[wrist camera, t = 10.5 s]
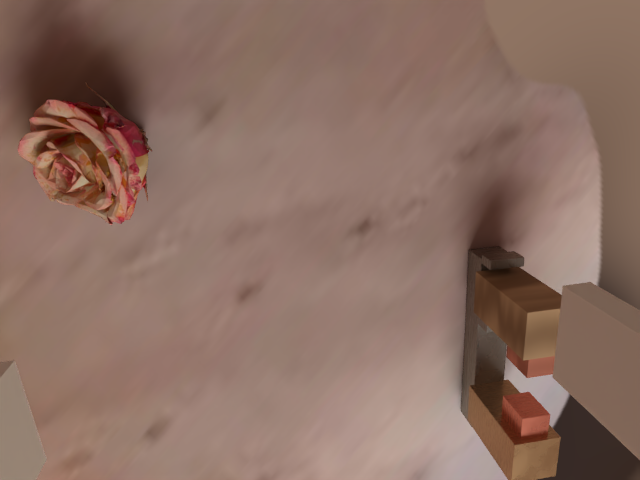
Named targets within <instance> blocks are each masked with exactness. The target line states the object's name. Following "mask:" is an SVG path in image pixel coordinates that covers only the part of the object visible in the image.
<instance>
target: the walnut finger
mask: <svg viewBox="0 0 640 480" xmlns="http://www.w3.org/2000/svg"><path fill="white" fill-rule="evenodd" d="M561 298H562V295H561V294H559V293H558V292H556V291H554V290H553V289H551V288H550V287H548V286H547V285H545V284H544V283H542V282H541V281H539V280H538V279H536V278H535V277H533V276H532V275H530V274H529V273H527V272H526V271H524V270H522V269H521V268H519V267H513V268H504V269H496V270H485V271H477V272H476V279H475V297H474V313H475V314H476V315H477V316H478V317H479V318H480V319H481V320H482V321H483V322H484V323H485V324H486V325H487V326H488V327H489V328H490V329H491V330H492V331H493V332H494V333H495V334H496V335H497V336H498V337H499V338H501V339H502V340H503V341H504V342H505V343H506V344H507V358H508V359H509V360H510V361H511V362H512V363H513V364H514V365H515V366H516V367H517V368H518V369H519V370H520V371H521V372H522V373H523V374H524V375H525V376H526V377H527V378H530V377H536V376H543V375H549V374H553V370H554V361H555V352H556V343H557V334H558V325H559V316H560V307H561Z"/></svg>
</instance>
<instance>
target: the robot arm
mask: <svg viewBox="0 0 640 480" xmlns="http://www.w3.org/2000/svg"><path fill="white" fill-rule="evenodd" d="M553 378H554V379H555V380H556V381H557V382H558V383H559V384H560V385H561V386H562V387H563V388H564V389H565V390H566V391H568V392H569V393H570V394H571V395H572V396H573V397H574V398H575V399H576V400H577V401H578V402H579V403H580V404H581V405H582V406H583V407H584V408H585V409H587V410H588V411H589V412H590V413H591V414H592V415H593V416H594V417H595V418H596V419H597V420H598V421H599V422H600V423H601V424H603V426H604V427H606V428H607V429H608V430H609V431H610V432H611V433H612V434H613V435H614V436H615V437H616V438H617V439H618V440H619V441H620V442H621V443H622V444H623V445H625V446H626V447H627V448H628V449H629V450H630V451H631V452H632V453H633V454H634V455H635V456H636V457H637V458H638V459H639V460H640V310H638V309H636V308H634V307H633V306H631V305H629V304H627V303H626V302H624V301H622V300H620V299H619V298H617V297H615V296H613V295H612V294H610V293H608V292H606V291H605V290H603V289H601V288H600V287H598V286H596V285H594V284H593V283H591V282H588V283H581V284H573V285H566V286H563V290H562V298H561V307H560V316H559V325H558V334H557V343H556V352H555V361H554V370H553ZM46 460H47V459H46V456H45V452H44V449H43V446H42V443H41V440H40V437H39V434H38V431H37V428H36V425H35V421H34V418H33V415H32V412H31V409H30V406H29V403H28V400H27V397H26V394H25V391H24V387H23V384H22V381H21V378H20V375H19V372H18V369H17V366H16V363H15V360H13V361H6V362H0V480H36V479H37V477H38V475H39V473H40V471H41V469H42V467H43V465H44V463H45V462H46Z"/></svg>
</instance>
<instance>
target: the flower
mask: <svg viewBox="0 0 640 480" xmlns="http://www.w3.org/2000/svg"><path fill="white" fill-rule="evenodd" d="M85 82H86V81H85ZM86 85H87V83H86ZM87 87H88V88H89V89H91V88H90V87H89V86H88V85H87ZM91 90H92V89H91ZM92 91H93V92H95V91H94V90H92ZM95 93H96V92H95ZM96 94H97V95H98V96H99V97H100V98H101V99H102V100H103V101H104V103H105V104H106V108H104V107H98V106H90V105H89V104H88V103H85V102H77V103H72V102H69V101H65V100H63V101H60V100H57V99H56V100H48V99H47V100H46V102H45V104H43V105H42V106H40V107H39V108H38V109H37V110H36V111H35V113H34V117H31V118H29V119H30V125H31V129H30V130H31V132H30V133H27V134H26V135H25V136H24V137H23V138H22V139H21V140H20V143H19V147H18V152H19V155H20V156H21V157H22V158H24V159H26V160H27V161H29V162H30V163H32V164H33V165H34V169H33V172H34V176H35V178H36V179H37V180H38V182H39V184H40V185H41V187H42V189H43V190H44V192H45V193H46V195H47V196H48V197H49V199H50V201H55V200H57V202H59V203H61V204H67V205H75V206H76V207H78V208H81V209H84V210H86V211H88V212H90V213H93V214H95V215H97V216H99V217H101V218H102V219H104V220H105V221H106V222H108V223H109V224H110V225H112V222H117V223H120V224H121V223H122V222H124V220H130V218H131V216H132V213H133V211H134V208H135V203H136V199H137V195H138V193H139V191H140V190H141V188H142V187H144V189H145V192H146V197H147V201H148V195H147V180H146V171H147V167H148V154H147V153H148V152H149V150H150V151H152V150H151V149H150V147H149V146H148V144H147V141H148V139H147V138H146V137H145V135H146V132H144V131H143V129H141V130H139V128H138V127H137V126H136V125H135V123H134V122H132V121H130V120H128V119H126V118H124V117H123V116H121V115H120V114H119V113H118V112H117V111H116V110H115V109H114V107H113V106H112V105H111V104H110V103H109V102H108V101H106V100H105V99H104V98H103V97H101V96H100V95H99V94H98V93H96ZM147 149H148V150H147Z"/></svg>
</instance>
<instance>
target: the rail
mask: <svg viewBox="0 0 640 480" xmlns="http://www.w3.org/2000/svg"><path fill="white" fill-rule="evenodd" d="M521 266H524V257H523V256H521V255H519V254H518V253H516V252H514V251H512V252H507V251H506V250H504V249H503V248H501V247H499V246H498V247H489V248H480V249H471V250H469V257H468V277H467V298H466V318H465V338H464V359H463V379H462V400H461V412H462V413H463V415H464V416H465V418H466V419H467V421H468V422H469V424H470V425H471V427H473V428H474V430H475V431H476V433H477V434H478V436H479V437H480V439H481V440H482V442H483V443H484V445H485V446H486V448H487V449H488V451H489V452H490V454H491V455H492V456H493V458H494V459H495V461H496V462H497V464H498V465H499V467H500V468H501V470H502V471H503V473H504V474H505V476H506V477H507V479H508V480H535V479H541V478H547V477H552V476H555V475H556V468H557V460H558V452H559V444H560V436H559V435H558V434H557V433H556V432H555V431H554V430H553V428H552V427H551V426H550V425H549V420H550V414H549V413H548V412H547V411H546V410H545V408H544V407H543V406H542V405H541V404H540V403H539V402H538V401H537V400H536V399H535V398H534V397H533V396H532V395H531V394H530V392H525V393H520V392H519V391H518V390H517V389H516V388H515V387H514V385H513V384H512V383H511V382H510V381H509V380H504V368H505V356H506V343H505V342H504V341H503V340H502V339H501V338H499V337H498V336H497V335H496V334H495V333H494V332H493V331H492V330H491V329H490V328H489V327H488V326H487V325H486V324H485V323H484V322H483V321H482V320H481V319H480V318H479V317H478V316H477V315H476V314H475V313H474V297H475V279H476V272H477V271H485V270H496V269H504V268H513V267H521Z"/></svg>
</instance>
